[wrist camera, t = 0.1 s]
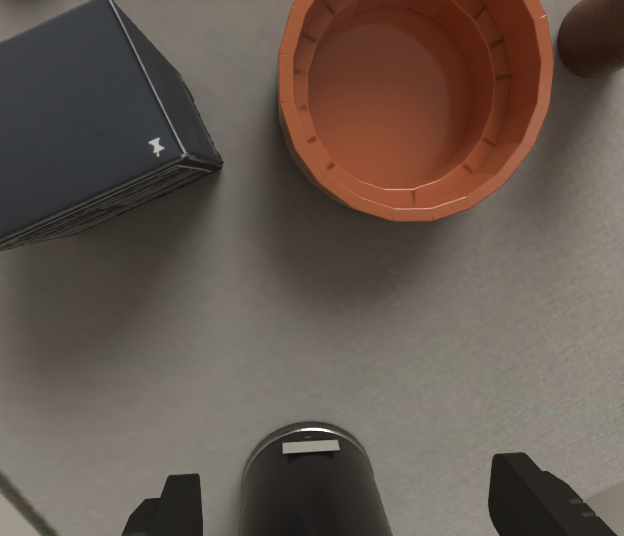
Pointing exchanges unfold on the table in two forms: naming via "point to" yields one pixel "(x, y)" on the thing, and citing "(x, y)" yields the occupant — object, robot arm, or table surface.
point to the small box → (91, 125)
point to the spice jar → (593, 37)
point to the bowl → (413, 99)
